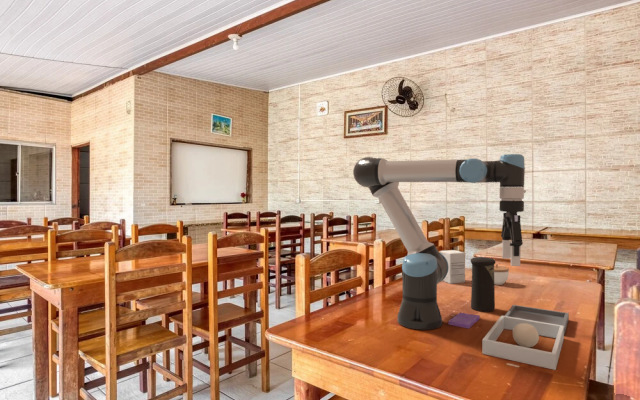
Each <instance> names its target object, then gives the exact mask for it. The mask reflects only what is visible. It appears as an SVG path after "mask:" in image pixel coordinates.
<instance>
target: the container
mask: <svg viewBox="0 0 640 400" xmlns="http://www.w3.org/2000/svg"><path fill="white" fill-rule="evenodd" d="M470 263H471V297H470V308H471V309H472V310H474V311H478V312H485V313H487V312H488V313H489V312H494V311H495V307H496V299H495V298H496V297H495V296H496V295H495V294H496V293H495V289H496V288H495V285H494V266H496V260H495V259H494V258H491V257H486V256H483V257H482V256H477V257H471V259H470Z"/></svg>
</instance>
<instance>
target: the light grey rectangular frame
mask: <svg viewBox="0 0 640 400" xmlns="http://www.w3.org/2000/svg"><path fill="white" fill-rule="evenodd" d="M521 323H526V324H530V325H532V326H533V327H534V328H535V329H536V330H537V332H538V334H539V336H542V337H547V338H548V337H549V338H553V339H555V341H554V345H553V347H552V349H551V350H552V351H551V352H550V351H545V350H541V349H536V348H532V347H523V346H520V345H518V344H511V343H507V342H501V341H497V340H498V338H499V337H500V336H501V334H502V332H503V331H504V330H510V331H513V329H514V327H515V326H516V325H518V324H521ZM564 337H565V336H564V326H562V325H556V324H550V323H544V322H538V321H532V320H526V319H520V318H514V317H508V316H505V315H500V317H499V318H498V319H497V321H496V322H495V323H494V324H493V326H492V327H491V328H490V329H489V331H488V332H487V333H486V334H485V336H484V337H483V338H482V341H481V342H482V346H481V347H482V352H481V353H482V354H483V355H487V356H491V357H495V358H500V359H504V360H510V361H513V362H518V363H523V364H527V365H531V366H536V367H540V368H545V369H550V370H554V371H556V369H557V366H558V362H559V360H560V359H559V358H560V355H561V350H562V348H563V343H564Z"/></svg>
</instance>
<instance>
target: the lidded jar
mask: <svg viewBox="0 0 640 400" xmlns="http://www.w3.org/2000/svg"><path fill="white" fill-rule="evenodd" d="M509 271H510V269H509V267H506V266H502V265H498V264H497V263H495V265H494V286H501V285H504V283H506V282H507V280H508V278H509Z"/></svg>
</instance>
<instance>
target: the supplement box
mask: <svg viewBox="0 0 640 400" xmlns="http://www.w3.org/2000/svg"><path fill="white" fill-rule="evenodd" d="M439 253H441V254H442V255H444V256H445V258H446V259H447V262H448V266H449V268H448V273H447V275H446V277H445V278H444V279H443V280H442V281H441V282H445V283H448V284H450V285H453V284H461V283H465V282H466V252H464V251H459V250H456V249H455V250H454V249H449V250H439Z"/></svg>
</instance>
